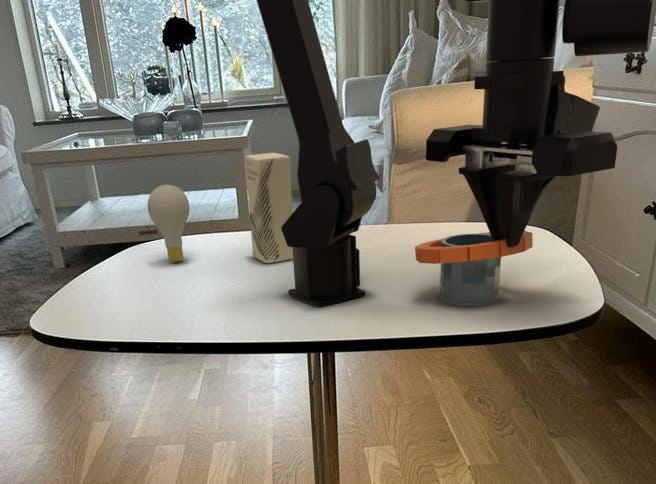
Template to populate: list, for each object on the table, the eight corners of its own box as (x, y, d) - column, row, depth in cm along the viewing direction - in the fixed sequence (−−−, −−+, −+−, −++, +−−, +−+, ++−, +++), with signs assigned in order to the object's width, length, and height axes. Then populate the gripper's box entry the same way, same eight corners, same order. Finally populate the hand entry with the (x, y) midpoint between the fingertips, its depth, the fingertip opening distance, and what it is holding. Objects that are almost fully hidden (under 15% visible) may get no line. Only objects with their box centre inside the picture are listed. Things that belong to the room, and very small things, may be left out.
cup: (465, 310, 76) (468, 249, 73) (428, 297, 80) (429, 240, 77) (510, 298, 78) (515, 239, 75) (471, 286, 83) (474, 231, 80)
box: (252, 257, 102) (242, 155, 95) (281, 252, 103) (274, 151, 97) (267, 265, 97) (258, 158, 91) (297, 259, 99) (291, 154, 92)
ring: (466, 265, 70) (466, 249, 69) (395, 262, 79) (394, 248, 79) (555, 244, 74) (555, 230, 74) (478, 244, 84) (477, 231, 83)
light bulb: (148, 264, 102) (135, 187, 97) (178, 256, 105) (167, 180, 100) (174, 269, 99) (162, 189, 94) (204, 260, 102) (194, 182, 97)
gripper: (677, 50, 60) (645, 247, 68) (513, 57, 75) (501, 219, 82) (578, 59, 56) (556, 268, 64) (424, 65, 70) (421, 235, 78)
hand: (506, 245), depth 72 cm, fingers closed on ring, 1 cm apart
